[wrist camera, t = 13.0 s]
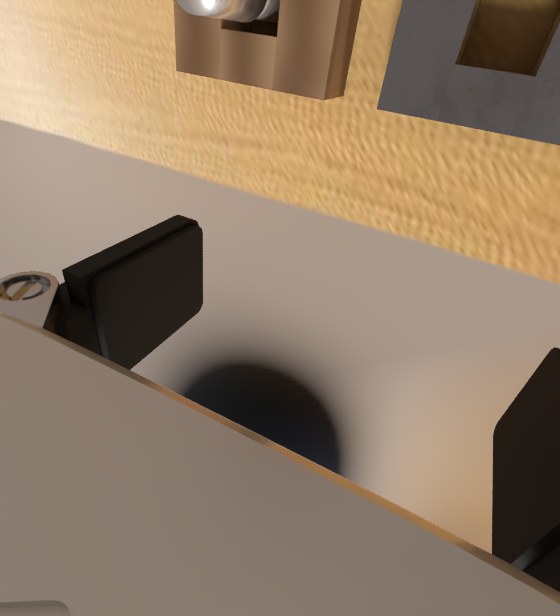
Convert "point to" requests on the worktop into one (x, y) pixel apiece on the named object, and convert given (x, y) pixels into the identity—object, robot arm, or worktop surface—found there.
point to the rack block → (273, 48)
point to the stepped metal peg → (234, 9)
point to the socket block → (467, 76)
